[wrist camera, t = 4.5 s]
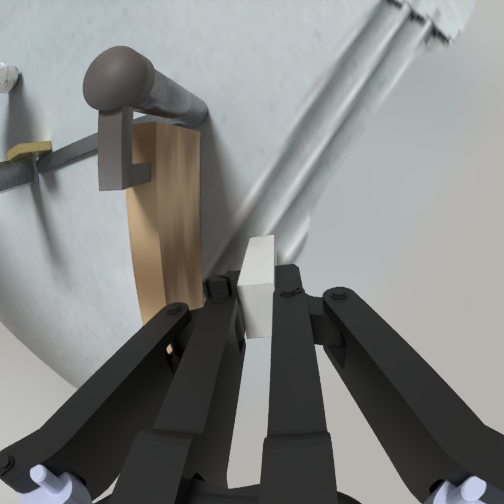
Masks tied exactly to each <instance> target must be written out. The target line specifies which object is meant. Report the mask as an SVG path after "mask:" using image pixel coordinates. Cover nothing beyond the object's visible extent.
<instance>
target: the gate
mask: <svg viewBox="0 0 504 504" xmlns="http://www.w3.org/2000/svg"><path fill="white" fill-rule="evenodd" d="M154 82H155V70H154V67H153V65H152V63H151V62H150V61H149V60H148V59H147V58H146V57H144V56H143V55H141V54H139V53H138V52H136V51H135V50H133V49H131V48H129V47H126V46H116V47H112V48H110V49H108V50H106V51H104V52H103V53H101V54H100V55H99V56H98V57H97V58H96V59H95V60H94V61H93V62H92V63H91V65H90V66H89V68H88V70H87V72H86V75H85V78H84V82H83V94H84V98H85V100H86V102H87V103H88V105H90V106H91V107H92V108H94V109H96V110H99V117H98V178H99V191H111V190H124V189H126V200H127V215H128V227H129V237H130V246H131V254H132V262H133V270H134V276H135V283H136V289H137V295H138V301H139V306H140V312H141V317H142V322H143V326H144V325H145V324H146V323H147V322H148V321H149V320H150V319H151V318H152V317H153V316H154V315H156V314H157V313H158V312H159V311H160V310H161V309H162V308H163V307H165V306H167V305H169V304H170V303H174V302H182V303H186V304H187V305H188V306H189V310H193V309H198V308H201V307H203V291H202V270H201V242H200V132H199V131H195V130H191V129H187V128H183V127H179V126H175V125H171V124H167V123H162V122H158V121H155V122H146V123H138V124H133V110H134V109H136V108H137V107H139V106H140V105H141V104H142V103H143V102H144V101H145V100H146V99H147V97H148V96H149V94H150V93H151V91H152V88H153V86H154ZM171 351H172V348H171V346H170V344H169V346H168V347H167V352H168V354H169V353H170V352H171Z"/></svg>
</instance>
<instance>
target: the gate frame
mask: <svg viewBox="0 0 504 504" xmlns="http://www.w3.org/2000/svg"><path fill="white" fill-rule="evenodd" d="M154 70H155V69H154ZM133 111H135V112H139V113H143V114H147V115H145V116H142V117H139V118H136V119H133V124H138V123H146V122H155V121H158V122H162V123H167V124H171V125H176V124H180V123H181V124H185V125H188V126H196V125H199V124H201V123H202V122H203V121H204V120H205V118H206V117H207V113H208V108H207V105H206V104H205V102H204V101H202V100H201V99H199V98H198V97H197V96H195V95H194V94H192V93H191V92H189V91H188V90H186V89H185V88H183V87H182V86H180V85H179V84H177V83H176V82H174V81H173V80H171V79H170V78H168V77H166V76H165V75H163V74H162V73H160V72H158V71H157V70H155V82H154V86H153V88H152V91H151V93H150V94H149V96H148V97H147V99H146V100H145V101H144V102H143V103H142V104H141V105H140V106H139V107H137V108H136V109H134V110H133ZM96 149H98V133H95V134H93V135H90V136H88V137H85V138H83V139H81V140H79V141H76V142H74V143H72V144H70V145H67V146H65V147H63V148H61V149H59V150H57V151H55V152H53V153H51V154H49V155H47V156H45V157H43V158H41V159H39V160H37V161H36V160H35V157H37V156H40V155H41V154H43V153H45V152H47V151H49V150H51V143H50V141H43V142H31V143H21V144H18V145H16V146H15V147H13V148H12V149H10V150H9V151H8V152H7V161H5V162H0V194H1V193H4V192H7V191H10V190H14V189H17V188H21V187H24V186H28V185H31V184H33V183H35V182H37V181H39V180H38V174H39V173H42V172H44V171H46V170H48V169H50V168H53V167H55V166H57V165H59V164H61V163H64V162H66V161H68V160H71V159H73V158H75V157H78V156H80V155H83V154H85V153H88V152H90V151H93V150H96ZM36 165H37V167H36ZM37 172H38V174H37Z"/></svg>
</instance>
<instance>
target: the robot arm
mask: <svg viewBox="0 0 504 504" xmlns="http://www.w3.org/2000/svg"><path fill="white" fill-rule="evenodd" d="M202 283H203V287H204V292H205V296H206V302H205V304H204V306H203V307H201V308H198V309H193V310H189V306H188V305H187V304H186V303H182V302H174V303H170V304H169V305H167V306H165V307H163V308H162V309H161V310H160V311H159V312H158V313H157V314H156V315H154V316H153V317H152V318H151V319H150V320H149V321H148V322H147V323H146V324H145V325H144V326H143V327H142V328H141V329H140V330H139V331H138V332H137V333H136V334H135V335H134V336H132V337H131V338H130V339H129V340H128V341H127V342H126V343H125V344H124V345H123V346H122V347H121V348H120V349H119V350H118V351H117V352H116V353H115V354H114V355H113V356H112V357H111V358H110V359H109V360H108V361H107V362H106V363H105V364H104V365H103V366H102V367H101V368H100V369H99V370H97V371H96V372H95V373H94V374H93V375H92V376H91V377H90V378H89V379H88V380H87V381H86V382H85V383H84V384H83V385H82V386H81V387H80V388H79V389H78V390H77V391H76V392H75V393H74V394H73V395H72V396H71V397H70V398H69V399H68V400H67V401H66V402H65V404H63V405H62V407H60V408H59V409H58V410H57V412H56V413H55V414H54V415H53V416H52V417H51V418H50V419H49V420H48V421H47V422H46V423H45V424H44V425H43V426H42V427H41V428H40V429H38V430H37V431H35V432H33V433H31V434H30V435H28V436H26V437H24V438H23V439H21V440H19V441H17V442H15V443H14V444H12V445H10V446H8V447H6V448H5V449H3V450H2V451H0V479H1V480H2V481H3V482H5V483H6V484H7V485H9V486H10V487H11V488H13V489H14V490H15V491H16V492H17V493H18V494H19V496H20V499H21V501H22V504H93V503H92V501H93V500H94V499H96V498H97V497H99V496H100V495H101V494H102V493H103V492H105V491H106V490H107V489H108V488H109V487H110V485H111V484H112V483H113V482H114V481H115V479H116V478H117V477H118V476H119V478H118V480H117V482H116V485H115V487H114V490H113V493H112V494H110V495H109V496H107V497H105V498H103V499H101V500H100V501H98V502H96V503H94V504H361V503H360V502H359V501H357V500H356V499H354V498H352V497H350V496H348V495H346V494H344V493H341V492H338V491H337V487H336V477H335V468H334V459H333V450H332V442H331V437H330V433H329V432H328V431H327V427H326V419H325V411H324V404H323V397H322V390H321V383H320V376H319V370H318V364H317V358H316V351H315V346H314V344H317V345H323V348H324V351H325V353H326V354H327V356H328V357H329V359H330V361H331V362H332V364H333V366H334V367H335V369H336V370H337V372H338V374H339V375H340V377H341V379H342V380H343V382H344V384H345V385H346V386H347V388H348V390H349V392H350V393H351V395H352V397H353V398H354V400H355V401H356V403H357V405H358V406H359V408H360V410H361V412H362V413H363V415H364V417H365V418H366V420H367V422H368V423H369V425H370V426H371V428H372V430H373V431H374V433H375V435H376V436H377V438H378V440H379V441H380V443H381V445H382V447H383V448H384V450H385V451H386V453H387V455H388V456H389V458H390V460H391V462H392V463H393V465H394V467H395V468H396V470H397V472H398V473H399V475H400V477H401V478H402V480H403V482H404V483H405V485H406V486H407V488H408V489H409V491H410V492H411V493H412V494H413V495H414V496H415V497H416V498H417V499H418V501H419V502H420V503H422V504H504V435H503V434H501V433H499V432H497V431H495V430H494V429H491V428H490V427H488V426H486V425H484V424H483V422H482V421H481V420H480V419H479V418H478V417H477V416H476V415H475V413H474V412H473V411H472V410H471V409H470V408H469V407H468V406H467V405H466V403H465V402H464V401H463V400H462V399H461V398H460V397H459V396H458V395H457V394H456V393H455V392H454V390H453V389H452V388H450V386H449V385H448V384H447V383H446V382H445V381H444V380H443V379H442V378H441V377H440V376H439V375H438V374H437V373H436V371H434V369H433V368H432V367H431V366H430V365H429V364H428V363H427V362H426V361H425V360H424V359H423V358H422V357H421V356H420V355H419V354H418V353H417V352H416V351H415V350H414V349H413V348H412V347H411V346H410V345H409V344H408V343H407V342H406V341H405V340H404V339H403V338H402V337H401V336H400V335H399V334H398V333H397V332H396V331H395V330H394V329H393V328H392V327H391V326H390V325H389V324H388V323H386V321H385V320H383V319H382V318H381V317H380V316H379V315H378V314H377V313H376V312H375V311H374V310H373V309H372V308H371V307H370V306H369V305H368V304H367V303H366V302H365V301H363V299H361V298H360V297H359V296H358V295H357V294H356V293H355V292H354V291H353V290H351V289H349V288H345V287H335V288H331V289H328V290H326V291H325V292H324V293H323V297H313V296H309V295H308V294H306V293H305V290H304V289H303V287H302V281H301V277H300V272H299V267H297V266H296V265H295V264H289V265H280V266H278V265H277V256H276V248H275V240H274V235H269V236H260V237H252V238H250V240H249V243H248V247H247V251H246V254H245V258H244V262H243V265H242V269H241V270H238V271H228V272H227V273H226V274H224V275H215V276H212V277H209V278H207V279H205V280H204V281H203V282H202ZM245 331H246V336H247V339H250V338H264V337H272V342H271V343H272V344H271V369H270V393H269V413H268V431H267V437H266V438H265V439H264V443H263V454H262V467H261V480H260V484H257V485H251V486H245V487H240V488H233V489H228V485H227V468H228V462H229V455H230V449H231V442H232V436H233V429H234V423H235V416H236V409H237V403H238V396H239V389H240V383H241V376H242V369H243V362H244V356H245V349H246V343H245V338H244V335H245ZM169 344H170V346H171V348H172V351H171V352H170V353H169V354H168V352H167V347H168V346H169ZM119 474H120V475H119Z"/></svg>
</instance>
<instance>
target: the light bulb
mask: <svg viewBox="0 0 504 504" xmlns="http://www.w3.org/2000/svg"><path fill="white" fill-rule="evenodd" d="M17 79H18V69H17V67H14V66H7V67H6V65H5V64H4V63H1V62H0V93H7V92H10V91H11V90H12V89H13V88H14V86H15V84H16V82H17Z"/></svg>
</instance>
